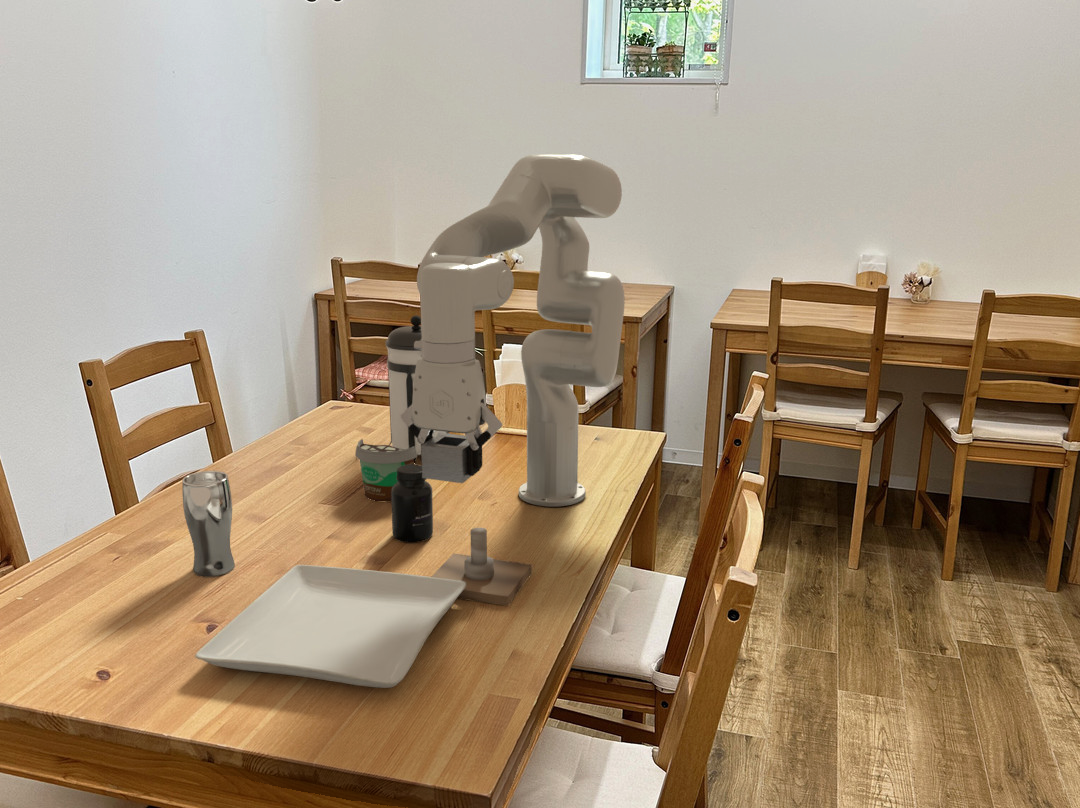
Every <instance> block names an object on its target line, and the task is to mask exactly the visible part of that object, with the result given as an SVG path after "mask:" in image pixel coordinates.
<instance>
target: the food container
mask: <svg viewBox="0 0 1080 808" xmlns="http://www.w3.org/2000/svg"><path fill="white" fill-rule="evenodd" d="M354 455H355V457H356V458H357V459H358V460H359V466H360V472H361V477H362V484H363V492H364V497H365V496H366V497H367V498H366V497H365V498H366V499H368V498H369V499H371V500H370V501H372V500H375V501H374V502H377V501H391V489H392V487H393V485H394V484H395V483H397V482H398V481H397V479H396V476H397V468H398V467H400V466H403V465H409V464H414V458H416V457H417V458H418V456H417V453H416V450H415V447H414V446H413V447H411V448H408V449H399V448H396V447H393V446H392V445H390V446H389V444H388V445H386V444H382V445H381V444H380V445H379V444H378V445H376V444H375V445H373V444H369V443H368V444H367V443H364V440H363V438H362V439H360V440H359V441H358V442H357V444H356V447H355V453H354ZM417 458H416V459H417ZM369 499H368V500H369Z"/></svg>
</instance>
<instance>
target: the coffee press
mask: <svg viewBox="0 0 1080 808" xmlns="http://www.w3.org/2000/svg"><path fill="white" fill-rule="evenodd" d="M410 324H411V325H407V326H406V325H405V326H401V327H398V328H395V329H394V330H392V331H391V332H390V333H389V335H388V337H387V339H386V340H385V346H386V349H387V359H386V363H387V364H386V365H387V367H386V368H387V370H388V371H387V373H388V374H387V375H388V379H387V380H388V396H389V397H388V400H389V423H390V425H389V426H390V442H389V444H388V445H389V446H393V447H396V448H399V449H408V448H411V447H413V446H414V447H415V450H416V453H417V457H416V458H414V463H415V464H417V458H418V456H421V444H419V443H418V441H417V438H416V436H415V435H414V434H413V433H412V432H411V431H410V429H409V427H408V426H407V425H406V424H405V423H404V421H403V420H402V419H401V417H400V416H401V414H402V413H403V412H404V411H405V410H406V409H408V408H409V407H410V406H411V405H412V400H413V384H414V376H415V369H416V364H417V360H419V359H422V357H421V351H419V350H415V349H414V343H415V341H420V340H421V339H422V331H421V316H419V315H413V316H412V317H411V318H410ZM439 433H447V434H450V432H444V431H436V430H435V432H434V434H433V437H435V436H436V435H438V434H439Z"/></svg>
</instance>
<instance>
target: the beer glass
mask: <svg viewBox="0 0 1080 808" xmlns="http://www.w3.org/2000/svg"><path fill="white" fill-rule="evenodd" d="M181 482H182V506H183V513H184V518H185V523H186V526H187V528H188V532H189V535H190V538H191V543H192V546H193V552H194V553H193V554H194V555H193V556H194V557H193V570H192V571H193V573H194V574H195V575H196V576H198V577H201V576H202V578H215V577H221V576H223V575H226V574H228V573H230V572H232V571H233V570H234V569H235V565H236V564H235V560H234V557H233V553H232V549H231V531H232V520H233V499H232V492H231V491H232V490H231V486H230V481H229V475H228V473H227V472H225V471H222V470H221V471H220V470H202V471H198V472H197V471H196V472H194V473H189V474H188V475H186V476H184V477H183V478H182V480H181Z"/></svg>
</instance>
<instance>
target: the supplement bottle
mask: <svg viewBox="0 0 1080 808" xmlns="http://www.w3.org/2000/svg"><path fill="white" fill-rule="evenodd" d="M396 479H397V481H398V482H397V483H395V484H394V485H393V487H392V489H391V502H390V503H391V527H392V528H391V529H392V537H393V538H394V539H395V540H397V541H398V542H401V543H408V544H409V543H412V544H413V543H420V542H424V541H427V540H429V539H430V538H431V537H432V536H433V533H434V522H433V521H434V517H433V511H434V509H433V506H434V505H433V504H434V503H433V488H432V485H431V484H430V482H428V481H426V480H427V479H425V478H422V464H417V463H415V464H409V465H403V466H400V467H398V468H397V476H396Z"/></svg>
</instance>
